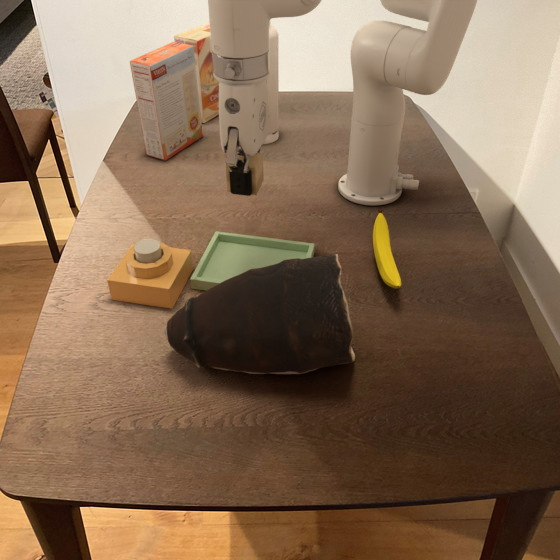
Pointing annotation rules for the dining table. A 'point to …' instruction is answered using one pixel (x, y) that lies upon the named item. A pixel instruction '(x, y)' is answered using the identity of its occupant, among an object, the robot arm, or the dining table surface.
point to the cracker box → (167, 99)
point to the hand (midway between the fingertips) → (246, 184)
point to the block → (256, 171)
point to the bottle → (273, 87)
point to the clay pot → (269, 320)
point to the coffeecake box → (203, 69)
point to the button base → (151, 278)
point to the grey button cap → (148, 251)
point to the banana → (384, 252)
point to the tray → (243, 256)
